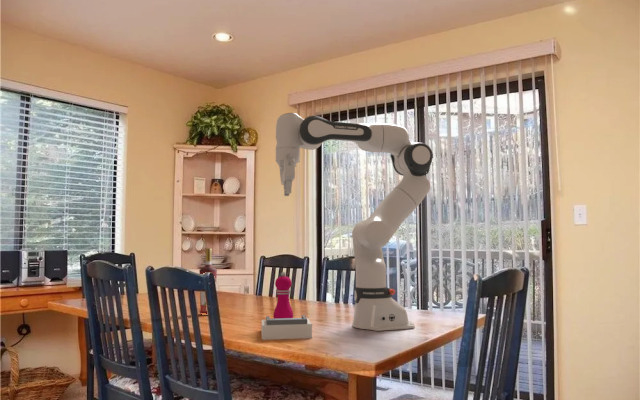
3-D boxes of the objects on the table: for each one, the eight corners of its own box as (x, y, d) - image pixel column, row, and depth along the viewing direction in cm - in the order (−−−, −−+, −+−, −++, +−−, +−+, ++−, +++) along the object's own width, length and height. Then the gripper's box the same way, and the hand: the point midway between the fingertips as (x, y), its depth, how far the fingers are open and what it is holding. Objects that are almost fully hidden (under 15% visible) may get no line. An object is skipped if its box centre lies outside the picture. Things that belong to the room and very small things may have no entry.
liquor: (217, 313, 206) (217, 248, 209) (215, 315, 199) (216, 248, 201) (199, 313, 205) (200, 248, 208) (197, 316, 198) (198, 248, 201)
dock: (307, 329, 167) (307, 312, 168) (312, 338, 153) (311, 319, 154) (261, 331, 165) (261, 313, 165) (262, 339, 151) (262, 320, 152)
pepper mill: (296, 326, 174) (296, 271, 175) (288, 330, 167) (288, 272, 169) (278, 325, 176) (278, 271, 178) (269, 329, 169) (270, 272, 171)
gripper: (299, 152, 164) (299, 192, 163) (293, 161, 185) (293, 197, 183) (280, 151, 164) (280, 191, 162) (277, 161, 184) (277, 197, 183)
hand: (287, 194), depth 173 cm, fingers open, 8 cm apart
